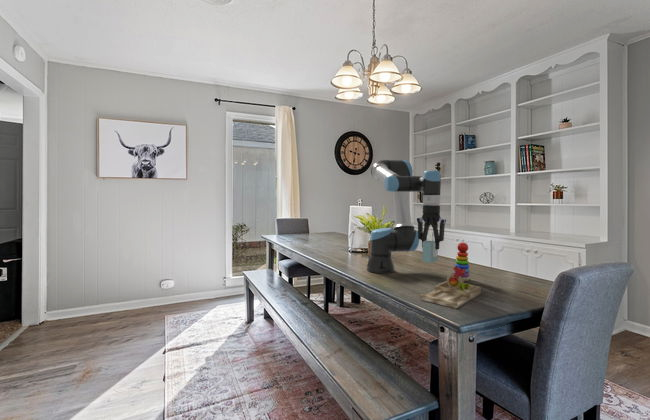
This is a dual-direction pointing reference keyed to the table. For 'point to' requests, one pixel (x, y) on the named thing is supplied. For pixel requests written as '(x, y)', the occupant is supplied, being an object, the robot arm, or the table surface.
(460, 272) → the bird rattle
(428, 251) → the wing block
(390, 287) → the table surface
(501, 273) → the table surface
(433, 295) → the jig
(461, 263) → the stacking toy
